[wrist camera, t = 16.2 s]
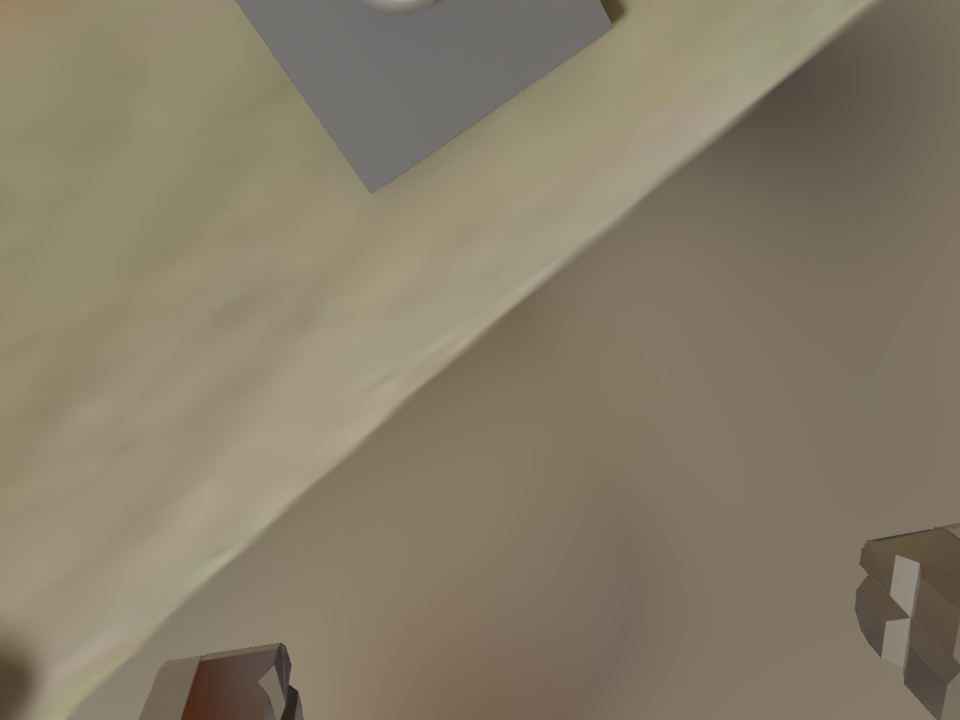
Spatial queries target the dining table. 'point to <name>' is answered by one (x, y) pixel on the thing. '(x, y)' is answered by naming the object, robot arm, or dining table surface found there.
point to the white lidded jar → (399, 6)
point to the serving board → (416, 67)
